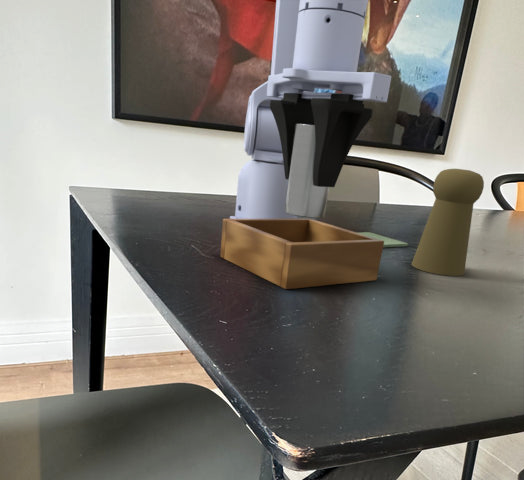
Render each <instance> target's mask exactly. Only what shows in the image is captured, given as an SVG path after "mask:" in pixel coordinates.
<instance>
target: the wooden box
mask: <svg viewBox="0 0 524 480" xmlns="http://www.w3.org/2000/svg"><path fill="white" fill-rule="evenodd" d="M220 240H221V242H220V254H219V255H220V258H222V259H224V260H226V261H227V262H230V263H232V264H234V265H236V266H238V267H240V268H242V269H244V270H245V271H247V272H250V273H251V274H253V275H256V276H258V277H260V278H262V279H264V280H266V281H267V282H270V283H272V284H274V285H276V286H278V287H280V288H281V289H284V290H294V289H303V288H313V287H323V286H332V285H333V286H334V285H343V284H351V283H363V282H372V281H373V282H374V281H377V279H378V274H379V269H380V264H381V259H382V255H383V249H384V248H383V245H384V241H383V240H379V239H376V238H373V237H369V236H366V235H363V234H360V233H359V232H357V231H353V230H349V229H347V228H343V227H339V226H336V225H334V224H330V223H326V222H323V221H319V220H316V219H313V218H311V217H303V218H302V217H301V218H299V217H298V218H282V219H230V218H223V219H222V228H221V239H220Z"/></svg>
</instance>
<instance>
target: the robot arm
mask: <svg viewBox="0 0 524 480" xmlns="http://www.w3.org/2000/svg"><path fill="white" fill-rule="evenodd" d="M275 1H276V2H275V12H274V13H275V15H274V25H273V26H274V28H273V39H272V52H271V64H270V74H269V75H268V77H267V80H266V81H265V82H263V83H262V84H261V85H259V86H258V87H257V88H255V89H253V90H252V92H251V94H250V95H249V97H248V101H247V110H246V114H245V122H244V123H245V124H244V135H243V150H244V152H245V153H246V155H247V156H250V158H251V160H248V161H246V162H245V164H243V165H242V167H241V168H240V170H239V173H238V176H237V186H236V200H235V211H234V215H230V216H229V219H282V218H299V216H296V215H291V214H288V213H286V212H285V207H286V198H287V190H288V182H289V173H290V165H291V157H292V149H293V140H294V132H295V124H308V125H315V142H316V146H315V159H314V171H313V179H314V186H318V187H329V188H335V186H336V183H337V182H338V179H339V177H340V174H341V172H342V169H343V167H344V164H345V162H346V160H347V158H348V155H349V154H350V152H351V149H352V147H353V145H354V143H355V142H356V141H357V138H358V137H359V135H360V134H361V132H362V131H363V129H364V128H365V126H366V125H367V124H368V122H370V120H371V119H372V117H373V113H374V109H373V108H369V107H365V103H364V101H365V102H375V103H387V102H388V98H389V92H390V88H391V81H392V76H391V75H389V74H384V73H380V72H376V71H369V72H367V71H358V67H359V66H358V65H359V59H360V52H361V46H362V42H363V41H362V40H363V34H364V28H365V20H366V16H367V10H368V9H367V8H368V3H369V0H275ZM315 89H317V90H330V91H336V92H315Z"/></svg>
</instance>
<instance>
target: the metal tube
mask: <svg viewBox="0 0 524 480" xmlns="http://www.w3.org/2000/svg"><path fill="white" fill-rule="evenodd" d="M315 146H316V142H315V125H308V124H295V132H294V140H293V149H292V157H291V165H290V173H289V182H288V190H287V198H286V207H285V212H286V213H288V214H291V215H296V216H298V217H301V218H302V217H303V218H310V219H313V218H314V219H319V218H322V219H323V218H325V217H326V213H327V205H328V201H329V194H330V193H329V192H330V187H318V186H314V179H313V171H314V159H315Z"/></svg>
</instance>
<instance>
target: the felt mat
mask: <svg viewBox="0 0 524 480" xmlns="http://www.w3.org/2000/svg"><path fill="white" fill-rule="evenodd" d="M358 233H360V234H363V235H366V236H369V237H373V238H376V239H379V240H383V241H384V245H383V249H384V248H399V247H408V246H409V243H407V242H405V241H401V240H398V239H394V238H390V237H387V236H384V235H380V234H377V233H374V232H370V231H364V232H362V231H361V232H358Z"/></svg>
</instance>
